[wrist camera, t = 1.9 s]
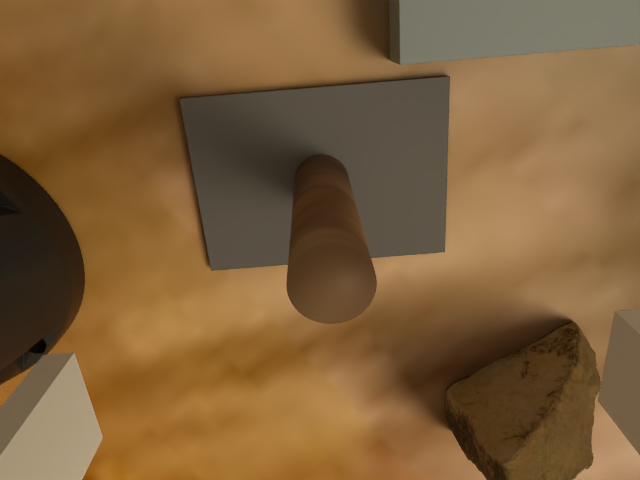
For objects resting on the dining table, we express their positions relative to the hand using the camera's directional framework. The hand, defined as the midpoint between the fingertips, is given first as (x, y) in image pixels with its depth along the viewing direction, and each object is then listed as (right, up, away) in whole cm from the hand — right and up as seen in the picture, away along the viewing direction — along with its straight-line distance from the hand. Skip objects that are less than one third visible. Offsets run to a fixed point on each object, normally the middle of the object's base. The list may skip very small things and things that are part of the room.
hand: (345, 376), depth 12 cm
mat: (-1, +7, +15) cm, 17 cm away
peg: (-1, +7, +15) cm, 17 cm away
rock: (+13, -6, +22) cm, 26 cm away
